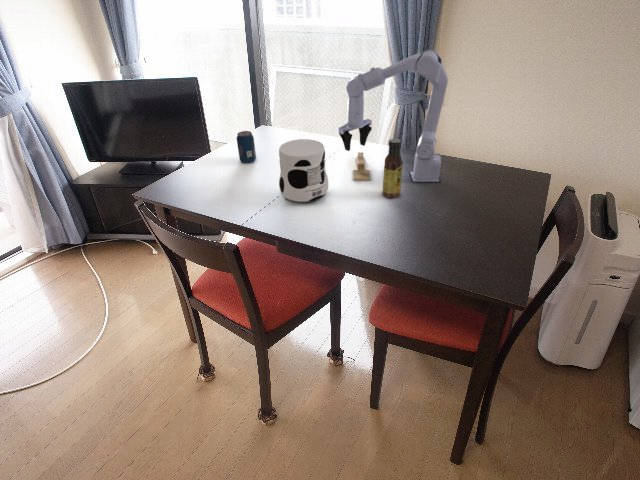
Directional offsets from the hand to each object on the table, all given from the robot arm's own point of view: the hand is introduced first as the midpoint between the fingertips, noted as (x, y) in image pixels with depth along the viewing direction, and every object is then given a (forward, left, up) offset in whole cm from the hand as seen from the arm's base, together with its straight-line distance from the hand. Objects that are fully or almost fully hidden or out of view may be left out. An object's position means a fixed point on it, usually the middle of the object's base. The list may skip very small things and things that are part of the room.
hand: (355, 147), depth 160 cm
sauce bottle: (-12, +19, -10) cm, 25 cm away
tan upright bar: (-3, -1, -10) cm, 10 cm away
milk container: (+19, +19, -10) cm, 29 cm away
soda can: (+45, -11, -10) cm, 47 cm away
